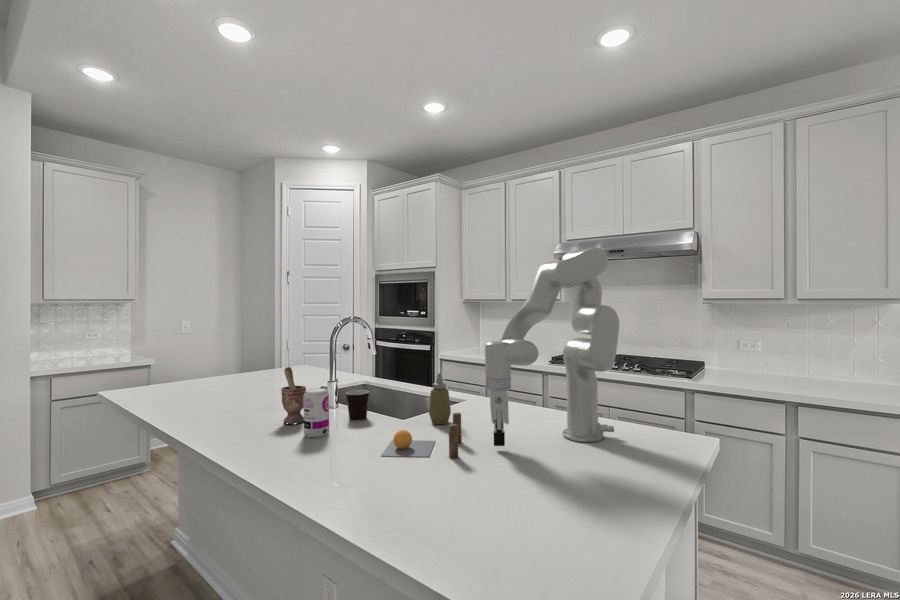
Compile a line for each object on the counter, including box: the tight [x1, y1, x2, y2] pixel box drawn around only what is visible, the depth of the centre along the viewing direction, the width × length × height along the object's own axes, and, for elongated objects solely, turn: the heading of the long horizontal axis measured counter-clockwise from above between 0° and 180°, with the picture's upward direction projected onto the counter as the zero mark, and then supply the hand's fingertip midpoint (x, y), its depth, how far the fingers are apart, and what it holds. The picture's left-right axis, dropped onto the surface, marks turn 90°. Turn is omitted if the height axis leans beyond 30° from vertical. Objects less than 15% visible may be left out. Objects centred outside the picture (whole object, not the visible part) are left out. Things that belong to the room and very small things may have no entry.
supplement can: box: [302, 387, 330, 438], centre depth 147 cm, size 8×8×15 cm
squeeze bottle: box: [428, 372, 452, 425], centre depth 159 cm, size 8×8×18 cm
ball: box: [392, 429, 413, 449], centre depth 131 cm, size 6×6×6 cm
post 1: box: [452, 412, 462, 445], centre depth 136 cm, size 3×3×9 cm
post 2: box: [448, 423, 459, 460], centre depth 124 cm, size 3×3×9 cm
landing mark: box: [380, 439, 436, 458], centre depth 131 cm, size 14×14×1 cm
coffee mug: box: [345, 389, 370, 422], centre depth 168 cm, size 12×9×10 cm
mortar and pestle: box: [281, 366, 307, 424], centre depth 163 cm, size 12×9×20 cm
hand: (499, 444), depth 129 cm, fingers closed
